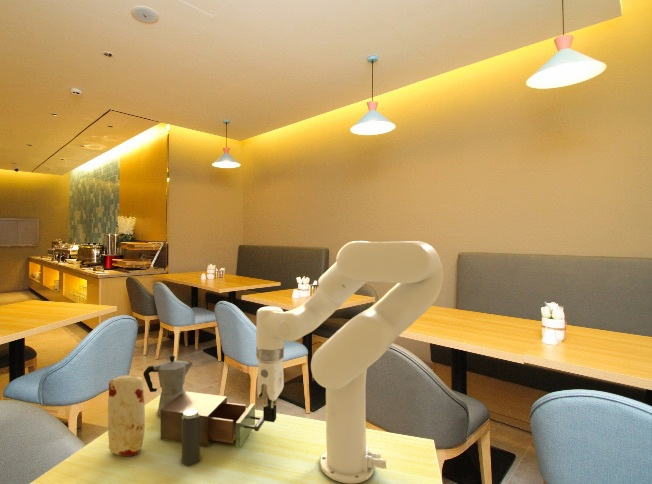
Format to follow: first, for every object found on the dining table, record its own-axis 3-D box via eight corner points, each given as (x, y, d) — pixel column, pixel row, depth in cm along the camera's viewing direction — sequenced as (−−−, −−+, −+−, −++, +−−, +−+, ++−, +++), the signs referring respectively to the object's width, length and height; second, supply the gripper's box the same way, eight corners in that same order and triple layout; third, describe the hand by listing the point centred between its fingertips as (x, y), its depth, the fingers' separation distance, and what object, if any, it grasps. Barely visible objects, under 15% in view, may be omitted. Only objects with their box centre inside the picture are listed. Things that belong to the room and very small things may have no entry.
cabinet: (227, 423, 107) (227, 396, 107) (207, 446, 95) (207, 416, 95) (184, 417, 111) (184, 391, 111) (160, 439, 99) (160, 409, 99)
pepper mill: (194, 466, 86) (193, 417, 87) (178, 463, 88) (178, 415, 88) (202, 456, 91) (202, 409, 91) (187, 453, 92) (187, 407, 92)
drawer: (269, 427, 102) (268, 405, 103) (255, 450, 92) (255, 425, 92) (213, 419, 107) (213, 398, 108) (194, 440, 97) (194, 416, 97)
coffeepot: (190, 401, 122) (190, 349, 122) (195, 413, 113) (195, 357, 114) (142, 410, 116) (142, 355, 116) (144, 424, 107) (144, 364, 107)
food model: (102, 459, 90) (101, 380, 90) (116, 444, 96) (116, 370, 97) (139, 460, 89) (138, 381, 89) (150, 445, 96) (150, 371, 96)
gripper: (275, 363, 89) (274, 437, 88) (290, 346, 103) (290, 409, 103) (247, 360, 91) (246, 432, 91) (265, 343, 105) (265, 405, 105)
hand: (269, 419), depth 97 cm, fingers closed
